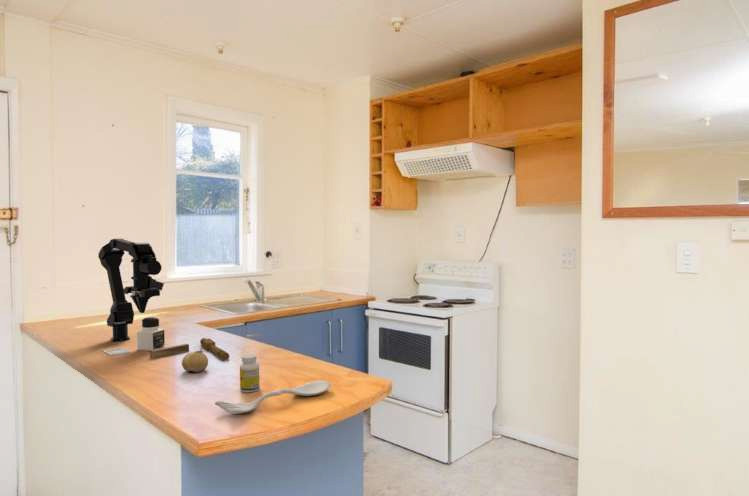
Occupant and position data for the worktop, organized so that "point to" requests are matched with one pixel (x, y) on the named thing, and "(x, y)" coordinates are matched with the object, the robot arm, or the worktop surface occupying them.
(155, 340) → the medicine bottle
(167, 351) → the stop bar
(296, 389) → the spoon
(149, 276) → the robot arm
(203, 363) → the onion
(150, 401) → the worktop surface
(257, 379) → the supplement bottle
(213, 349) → the tap handle
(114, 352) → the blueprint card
